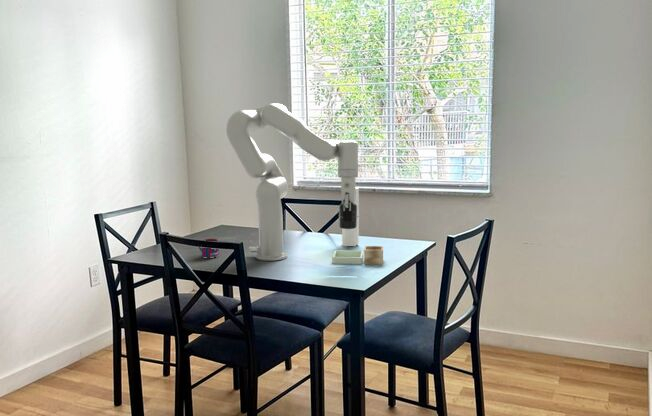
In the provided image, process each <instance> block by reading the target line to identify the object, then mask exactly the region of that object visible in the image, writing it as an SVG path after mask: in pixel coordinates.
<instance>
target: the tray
mask: <svg viewBox="0 0 652 416" xmlns="http://www.w3.org/2000/svg"><path fill="white" fill-rule="evenodd" d="M363 261H364V250H342V249H341V250H338V249H337V250H336V249H335V250H334V252H333V255H332V264H336V265H337V264H338V265H339V264H343V265H345V264H346V265H347V264H348V265H362V264H363Z"/></svg>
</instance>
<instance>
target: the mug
mask: <svg viewBox="0 0 652 416" xmlns="http://www.w3.org/2000/svg"><path fill="white" fill-rule="evenodd" d="M203 240H206V241H218V242H219V239H217V238H204V239H203ZM198 248H199V251H200V252H201V257H207V258H210V257H216V256H218V255H219V256H220V254H219V253H220V250H219V249H211V248H202V247H201V248H200V247H199V246H198Z"/></svg>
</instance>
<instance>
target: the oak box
mask: <svg viewBox="0 0 652 416" xmlns="http://www.w3.org/2000/svg"><path fill="white" fill-rule="evenodd" d="M363 261H364V263H363V265H383V264H384V246H383V245H365V246H364V250H363Z"/></svg>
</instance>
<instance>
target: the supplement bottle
mask: <svg viewBox="0 0 652 416" xmlns="http://www.w3.org/2000/svg"><path fill="white" fill-rule="evenodd" d="M343 201H344V200H343ZM343 203H344V202H343ZM343 203H342V202H341V203H340V204H339V206H338V207H339V209H338V218H339V219H338V221H339V222H338V227H339V228H340V229H342V228H343V229H354V228H356V227H357V205H356V204H355V203H354V204H353V203H351V211H352V221H351V222H346V221H343V211H344V204H343ZM348 203H350V202H348Z"/></svg>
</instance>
